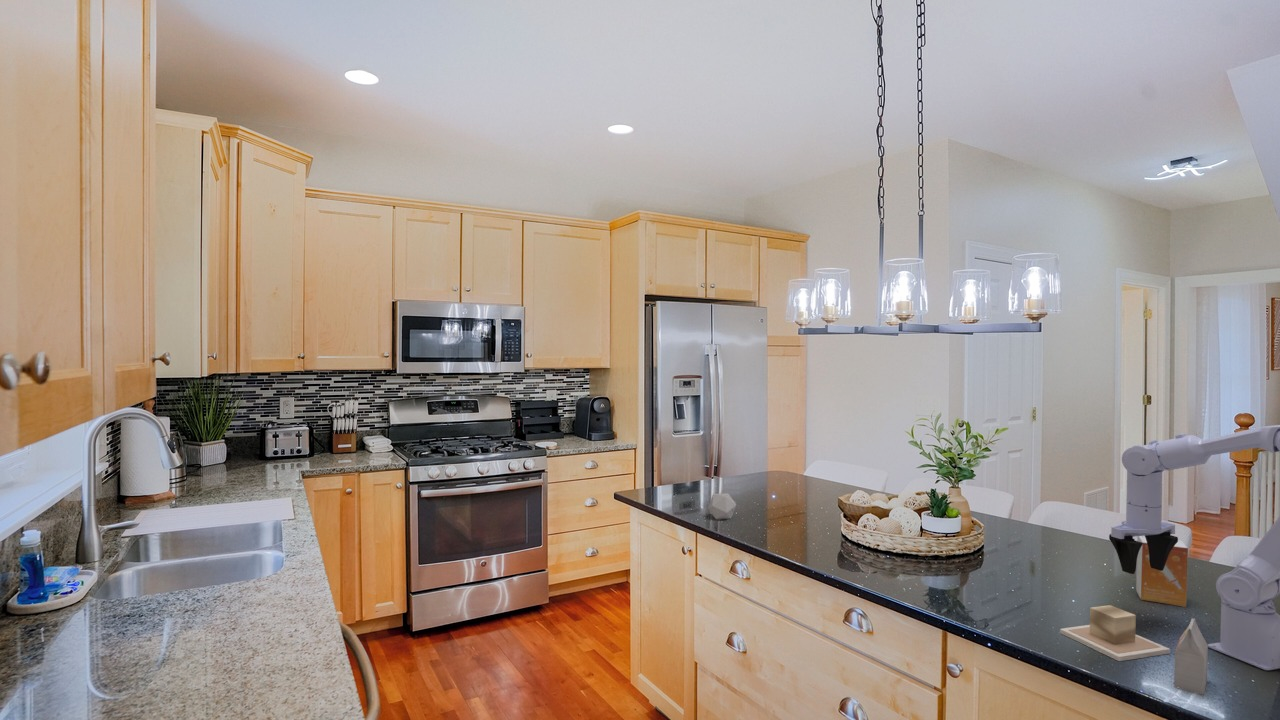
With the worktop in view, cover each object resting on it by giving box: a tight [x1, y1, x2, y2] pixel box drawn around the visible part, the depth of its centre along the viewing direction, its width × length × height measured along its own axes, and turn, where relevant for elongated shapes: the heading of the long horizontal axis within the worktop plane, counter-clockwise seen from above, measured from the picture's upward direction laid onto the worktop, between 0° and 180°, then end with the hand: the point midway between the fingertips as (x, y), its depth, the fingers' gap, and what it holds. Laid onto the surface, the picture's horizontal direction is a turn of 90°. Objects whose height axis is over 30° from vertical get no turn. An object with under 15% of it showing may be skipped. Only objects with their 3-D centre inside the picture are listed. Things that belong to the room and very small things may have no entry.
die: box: [707, 493, 737, 521], centre depth 213 cm, size 8×9×10 cm
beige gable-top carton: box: [1173, 617, 1209, 696], centre depth 109 cm, size 4×7×10 cm, turn 136°
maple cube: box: [1089, 604, 1137, 645], centre depth 124 cm, size 5×5×5 cm
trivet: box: [1059, 624, 1171, 662], centre depth 124 cm, size 12×12×1 cm
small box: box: [1135, 536, 1189, 608], centre depth 145 cm, size 8×6×13 cm
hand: (1142, 570), depth 133 cm, fingers open, 7 cm apart
